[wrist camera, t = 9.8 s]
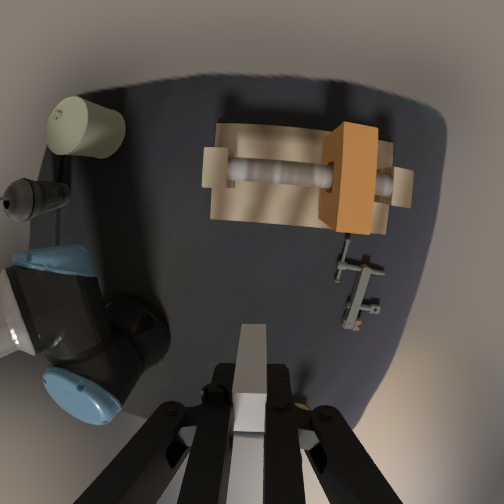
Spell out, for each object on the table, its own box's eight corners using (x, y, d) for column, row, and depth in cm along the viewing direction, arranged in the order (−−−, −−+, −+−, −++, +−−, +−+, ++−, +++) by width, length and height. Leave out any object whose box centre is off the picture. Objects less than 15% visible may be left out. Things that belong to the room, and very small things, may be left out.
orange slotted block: (317, 218, 41) (335, 231, 29) (323, 138, 38) (344, 121, 26) (343, 221, 40) (369, 234, 29) (349, 142, 38) (378, 128, 26)
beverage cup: (48, 204, 45) (-26, 218, 26) (57, 171, 43) (-19, 174, 24) (69, 218, 45) (-7, 239, 26) (80, 184, 44) (0, 191, 24)
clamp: (373, 333, 45) (321, 326, 45) (369, 327, 47) (319, 320, 47) (400, 252, 41) (346, 239, 41) (394, 249, 43) (342, 236, 43)
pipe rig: (211, 218, 44) (196, 227, 34) (217, 124, 40) (203, 108, 31) (383, 233, 42) (408, 245, 33) (390, 143, 39) (418, 135, 30)
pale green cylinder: (104, 101, 40) (65, 85, 28) (135, 125, 41) (97, 111, 29) (78, 142, 42) (35, 136, 30) (106, 168, 43) (63, 167, 31)
